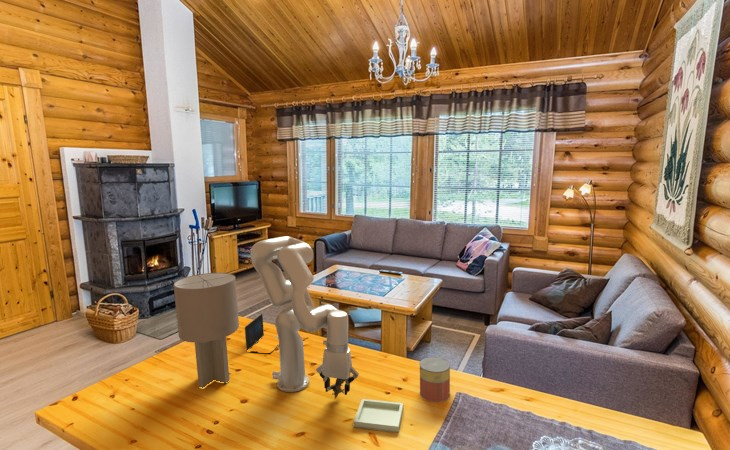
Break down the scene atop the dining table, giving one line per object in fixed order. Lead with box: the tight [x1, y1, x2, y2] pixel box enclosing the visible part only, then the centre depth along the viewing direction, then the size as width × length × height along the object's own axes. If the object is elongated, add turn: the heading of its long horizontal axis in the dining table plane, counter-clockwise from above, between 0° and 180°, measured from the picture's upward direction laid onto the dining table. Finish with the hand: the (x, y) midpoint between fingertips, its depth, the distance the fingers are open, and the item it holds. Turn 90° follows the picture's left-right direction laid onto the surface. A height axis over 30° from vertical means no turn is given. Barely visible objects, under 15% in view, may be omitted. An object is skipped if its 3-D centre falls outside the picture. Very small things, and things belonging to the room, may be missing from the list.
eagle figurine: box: [327, 378, 345, 400], centre depth 144 cm, size 8×7×9 cm
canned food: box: [419, 356, 451, 403], centre depth 147 cm, size 11×11×12 cm
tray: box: [353, 398, 404, 433], centre depth 134 cm, size 15×13×2 cm
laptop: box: [244, 313, 278, 352], centre depth 193 cm, size 18×12×13 cm
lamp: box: [173, 272, 240, 388], centre depth 159 cm, size 23×23×43 cm
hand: (337, 390), depth 142 cm, fingers closed on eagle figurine, 6 cm apart
